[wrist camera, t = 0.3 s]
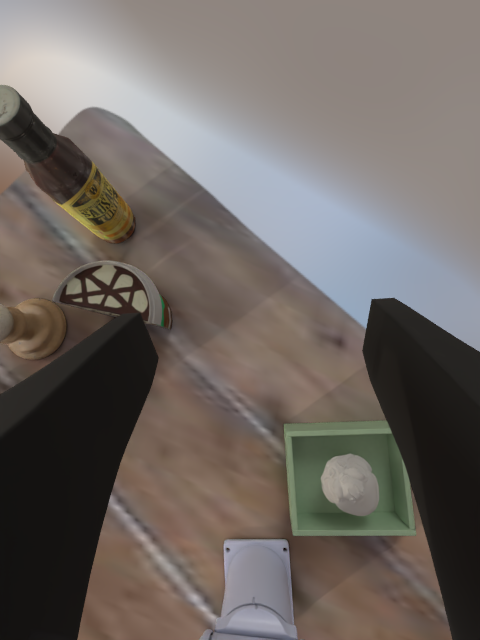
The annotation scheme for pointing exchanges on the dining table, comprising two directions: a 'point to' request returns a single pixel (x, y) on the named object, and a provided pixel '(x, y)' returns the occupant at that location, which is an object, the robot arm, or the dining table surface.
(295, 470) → the tote
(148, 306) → the food container
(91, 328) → the dining table surface
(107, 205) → the sauce bottle
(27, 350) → the candle holder
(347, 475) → the cream rounded lump
